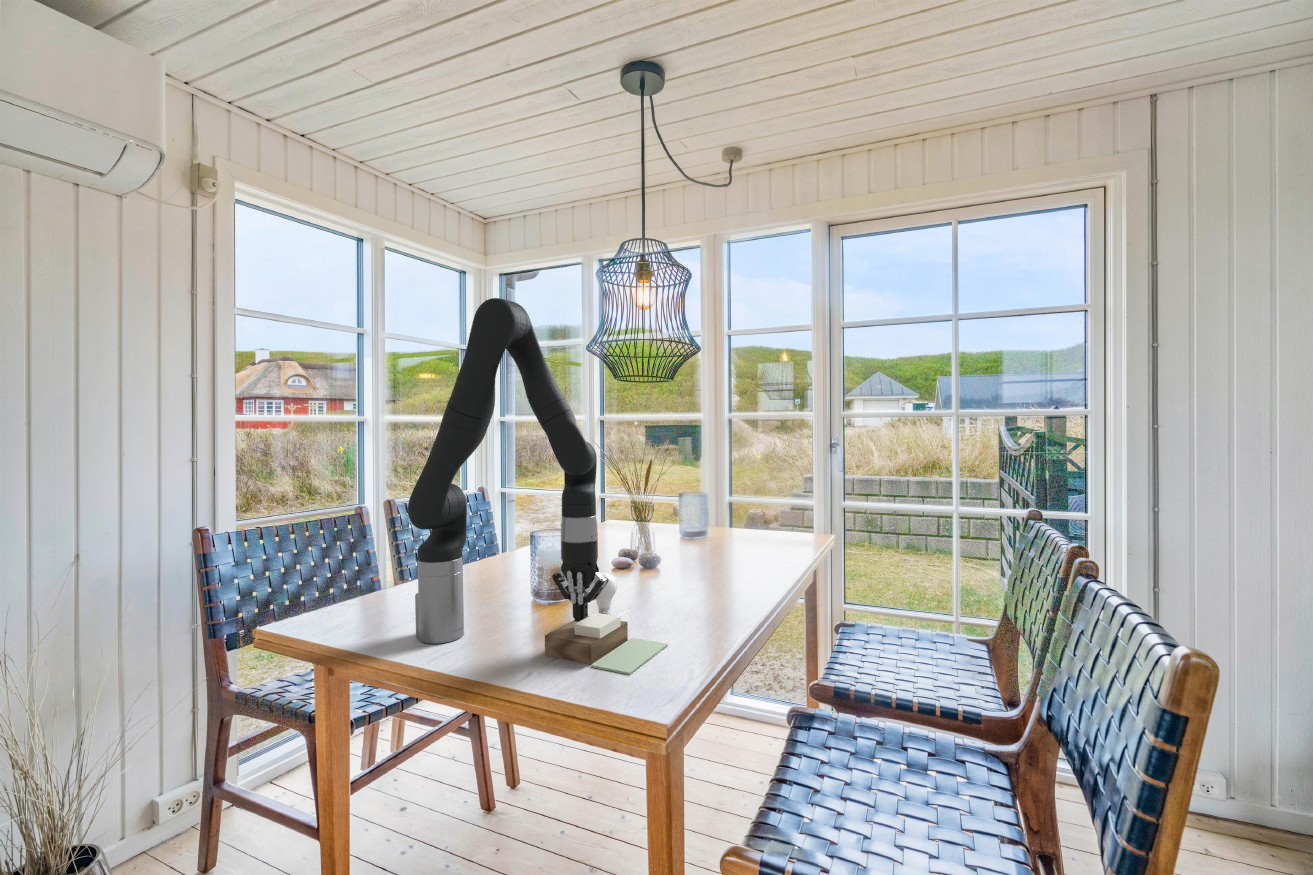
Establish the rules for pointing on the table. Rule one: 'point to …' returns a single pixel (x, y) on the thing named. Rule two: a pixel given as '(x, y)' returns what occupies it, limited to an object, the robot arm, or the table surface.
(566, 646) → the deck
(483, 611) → the table surface
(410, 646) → the table surface
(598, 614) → the white flat block
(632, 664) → the mat
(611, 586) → the lightbulb
